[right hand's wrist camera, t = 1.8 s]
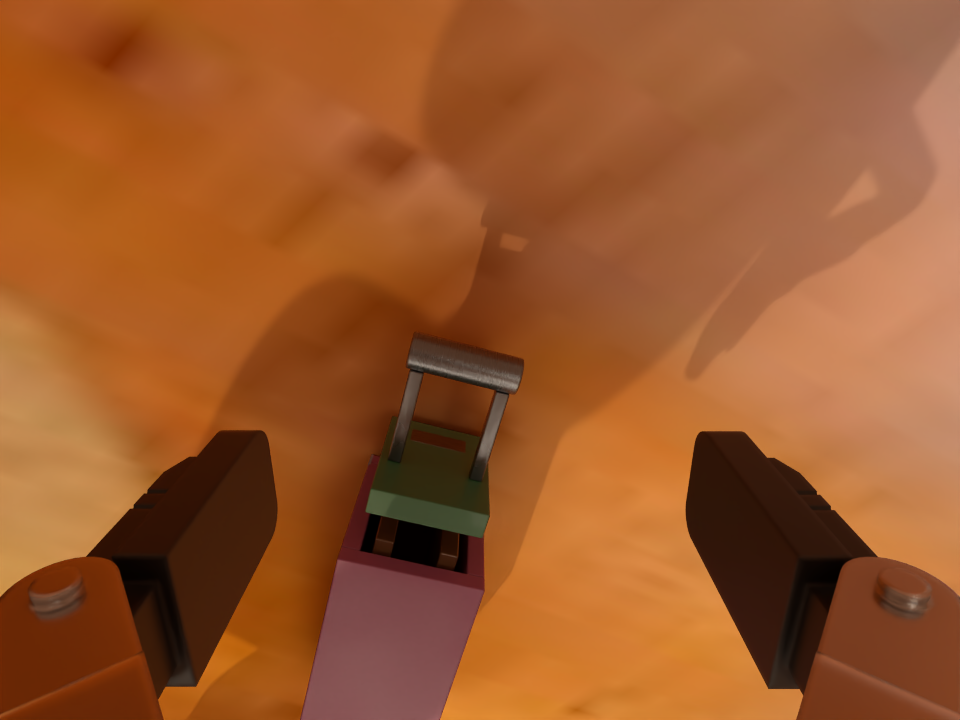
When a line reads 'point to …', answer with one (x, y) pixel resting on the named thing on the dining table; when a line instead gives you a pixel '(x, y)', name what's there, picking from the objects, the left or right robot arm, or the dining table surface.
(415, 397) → the drawer
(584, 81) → the dining table surface
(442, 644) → the cabinet
